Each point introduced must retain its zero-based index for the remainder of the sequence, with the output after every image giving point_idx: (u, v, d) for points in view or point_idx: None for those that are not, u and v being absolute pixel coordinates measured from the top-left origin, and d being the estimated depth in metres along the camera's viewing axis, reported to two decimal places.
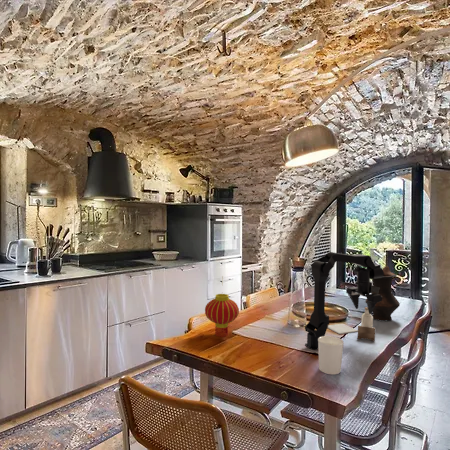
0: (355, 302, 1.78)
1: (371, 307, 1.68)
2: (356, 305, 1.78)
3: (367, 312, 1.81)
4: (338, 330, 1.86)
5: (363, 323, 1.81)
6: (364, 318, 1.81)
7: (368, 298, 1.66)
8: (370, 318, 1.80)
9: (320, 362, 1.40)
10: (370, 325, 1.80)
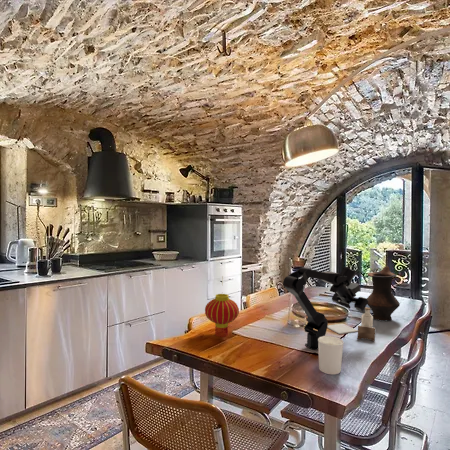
0: (345, 305, 1.81)
1: (362, 309, 1.72)
2: (348, 306, 1.81)
3: (367, 312, 1.81)
4: (338, 330, 1.86)
5: (363, 323, 1.81)
6: (364, 318, 1.81)
7: (356, 308, 1.68)
8: (370, 318, 1.80)
9: (320, 362, 1.40)
10: (370, 325, 1.80)
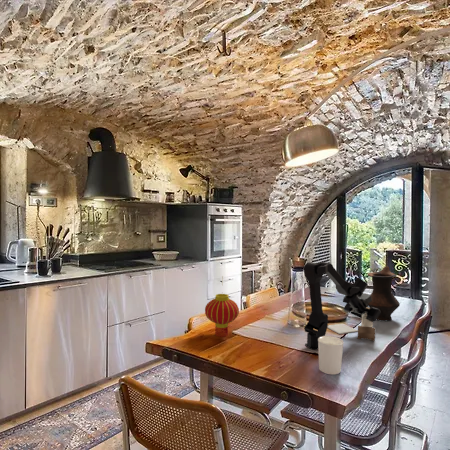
0: (360, 315, 1.84)
1: None
2: None
3: None
4: (338, 330, 1.86)
5: (363, 323, 1.81)
6: (364, 318, 1.81)
7: (369, 318, 1.73)
8: None
9: (320, 362, 1.40)
10: (370, 325, 1.80)
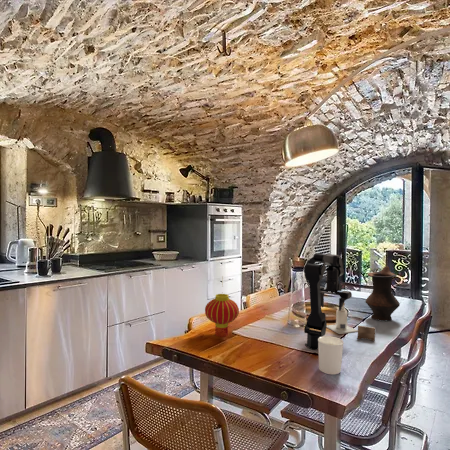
0: (322, 301, 1.84)
1: (342, 304, 1.77)
2: (322, 304, 1.84)
3: (342, 307, 1.88)
4: (338, 330, 1.86)
5: (339, 318, 1.87)
6: (340, 313, 1.87)
7: (342, 295, 1.75)
8: (345, 312, 1.87)
9: (320, 362, 1.40)
10: (345, 319, 1.87)
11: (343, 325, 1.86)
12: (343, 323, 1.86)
